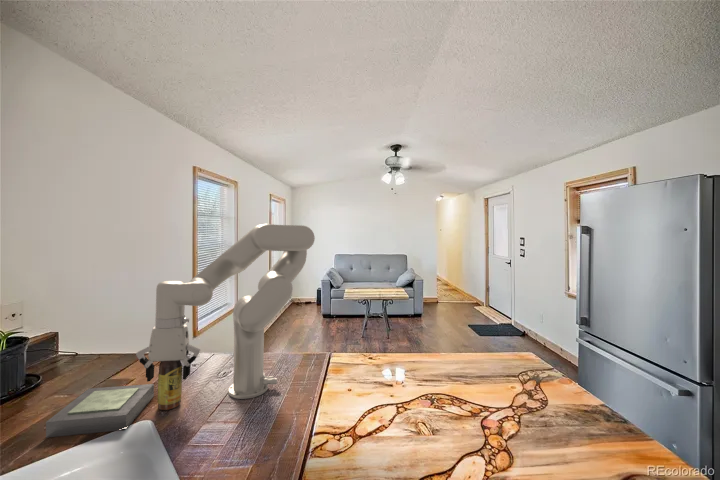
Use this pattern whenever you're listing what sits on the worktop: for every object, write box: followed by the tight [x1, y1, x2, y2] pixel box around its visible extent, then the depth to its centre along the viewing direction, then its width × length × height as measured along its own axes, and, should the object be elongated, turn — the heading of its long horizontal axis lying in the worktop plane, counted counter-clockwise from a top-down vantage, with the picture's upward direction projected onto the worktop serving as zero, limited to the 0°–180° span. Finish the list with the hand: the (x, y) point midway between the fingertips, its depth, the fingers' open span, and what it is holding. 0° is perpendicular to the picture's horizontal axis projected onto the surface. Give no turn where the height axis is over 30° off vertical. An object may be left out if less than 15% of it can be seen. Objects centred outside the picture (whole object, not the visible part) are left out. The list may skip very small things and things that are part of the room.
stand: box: [45, 383, 155, 438], centre depth 93 cm, size 18×18×4 cm
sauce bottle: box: [156, 360, 183, 411], centre depth 98 cm, size 7×6×20 cm
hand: (168, 378), depth 98 cm, fingers open, 9 cm apart
